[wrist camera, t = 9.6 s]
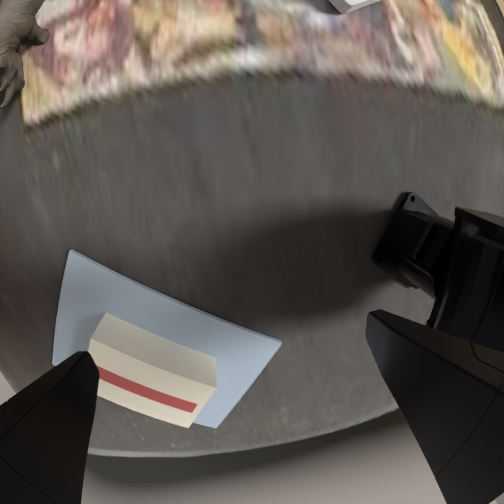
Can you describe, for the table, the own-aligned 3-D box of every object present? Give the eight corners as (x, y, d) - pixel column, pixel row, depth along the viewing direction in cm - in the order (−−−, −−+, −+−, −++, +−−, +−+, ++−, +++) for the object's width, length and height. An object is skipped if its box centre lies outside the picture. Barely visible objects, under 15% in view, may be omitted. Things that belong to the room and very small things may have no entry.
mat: (280, 340, 22) (281, 343, 22) (215, 425, 25) (216, 428, 25) (71, 249, 18) (69, 250, 17) (53, 362, 21) (52, 364, 20)
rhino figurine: (5, 117, 13) (-43, 115, 8) (38, -14, 9) (8, -38, 3) (40, 105, 14) (-9, 97, 8) (74, -29, 9) (48, -60, 4)
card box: (106, 312, 19) (90, 338, 16) (215, 357, 22) (216, 388, 18) (93, 361, 21) (81, 388, 17) (189, 399, 23) (188, 428, 20)
